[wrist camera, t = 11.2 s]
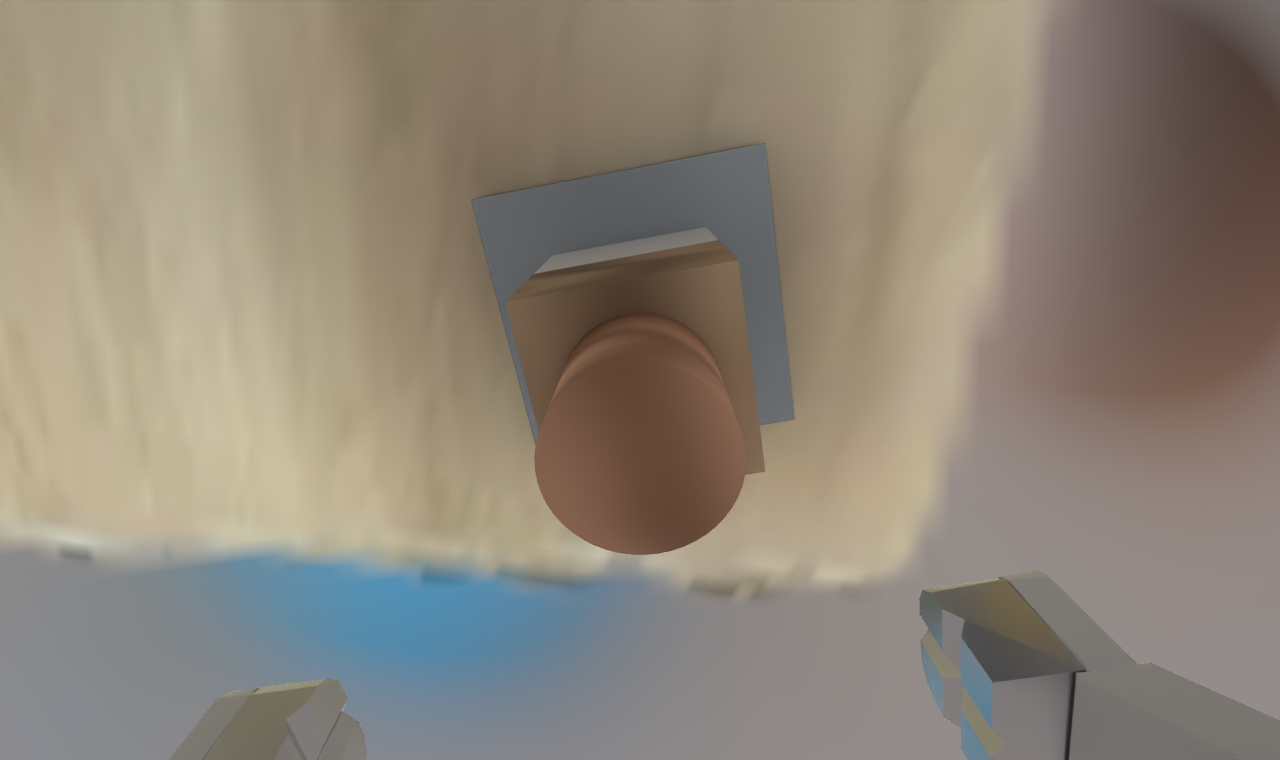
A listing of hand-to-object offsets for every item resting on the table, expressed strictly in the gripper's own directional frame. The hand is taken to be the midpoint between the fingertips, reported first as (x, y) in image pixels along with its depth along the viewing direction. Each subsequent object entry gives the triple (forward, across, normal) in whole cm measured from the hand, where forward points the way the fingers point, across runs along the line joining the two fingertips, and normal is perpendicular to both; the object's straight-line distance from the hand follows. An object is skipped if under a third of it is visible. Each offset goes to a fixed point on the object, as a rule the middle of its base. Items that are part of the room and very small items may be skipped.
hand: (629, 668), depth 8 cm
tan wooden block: (+16, 0, 0) cm, 16 cm away
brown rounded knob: (+11, 0, 0) cm, 11 cm away
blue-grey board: (+23, 0, 0) cm, 23 cm away
